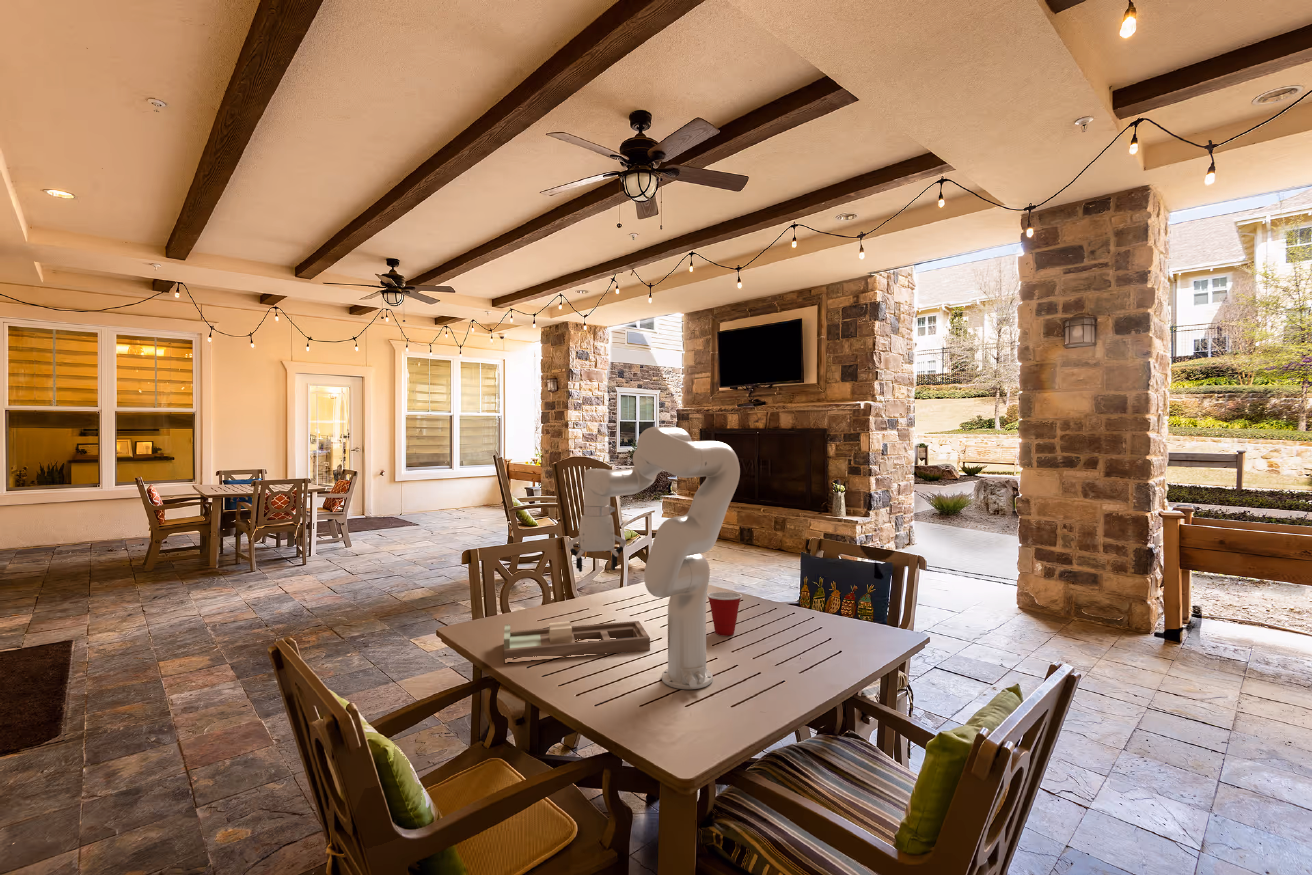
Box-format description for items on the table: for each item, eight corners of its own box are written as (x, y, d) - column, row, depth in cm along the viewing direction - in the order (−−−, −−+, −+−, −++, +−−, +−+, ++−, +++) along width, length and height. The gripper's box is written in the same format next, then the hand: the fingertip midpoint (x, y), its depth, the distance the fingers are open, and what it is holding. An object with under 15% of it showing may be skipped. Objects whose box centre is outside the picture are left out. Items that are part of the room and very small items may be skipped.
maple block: (571, 642, 167) (571, 627, 167) (550, 643, 166) (550, 629, 166) (570, 635, 173) (569, 621, 173) (549, 636, 171) (549, 623, 171)
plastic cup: (741, 627, 186) (741, 589, 186) (743, 639, 176) (743, 598, 176) (707, 626, 188) (706, 588, 188) (706, 638, 177) (706, 597, 177)
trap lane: (650, 650, 167) (649, 628, 167) (503, 663, 158) (503, 641, 158) (638, 632, 183) (638, 612, 183) (505, 643, 173) (504, 623, 173)
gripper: (624, 508, 177) (623, 565, 178) (565, 510, 173) (565, 568, 174) (628, 512, 170) (628, 571, 170) (568, 514, 166) (567, 574, 166)
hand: (596, 570), depth 172 cm, fingers open, 9 cm apart
